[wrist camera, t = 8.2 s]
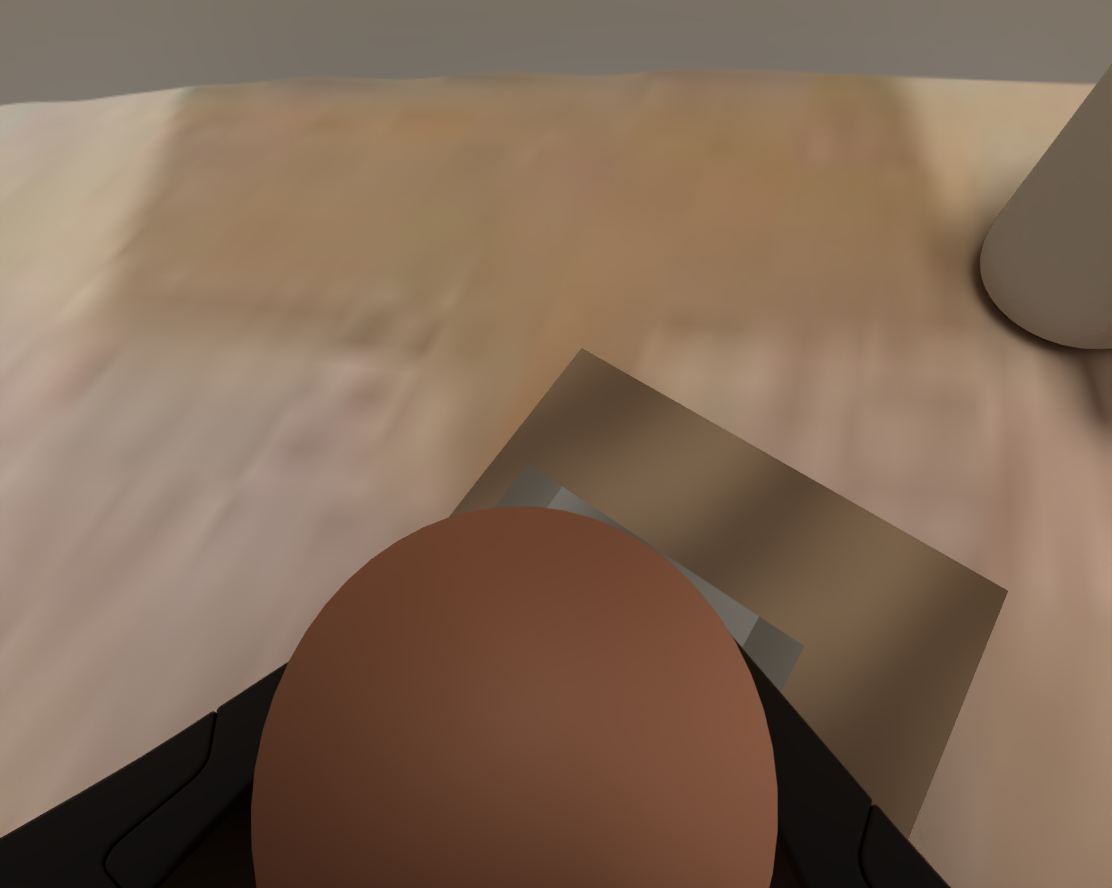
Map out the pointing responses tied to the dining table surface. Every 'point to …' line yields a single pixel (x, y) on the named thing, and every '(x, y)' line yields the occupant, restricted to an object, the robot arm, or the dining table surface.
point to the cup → (1060, 235)
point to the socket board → (769, 568)
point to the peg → (516, 722)
